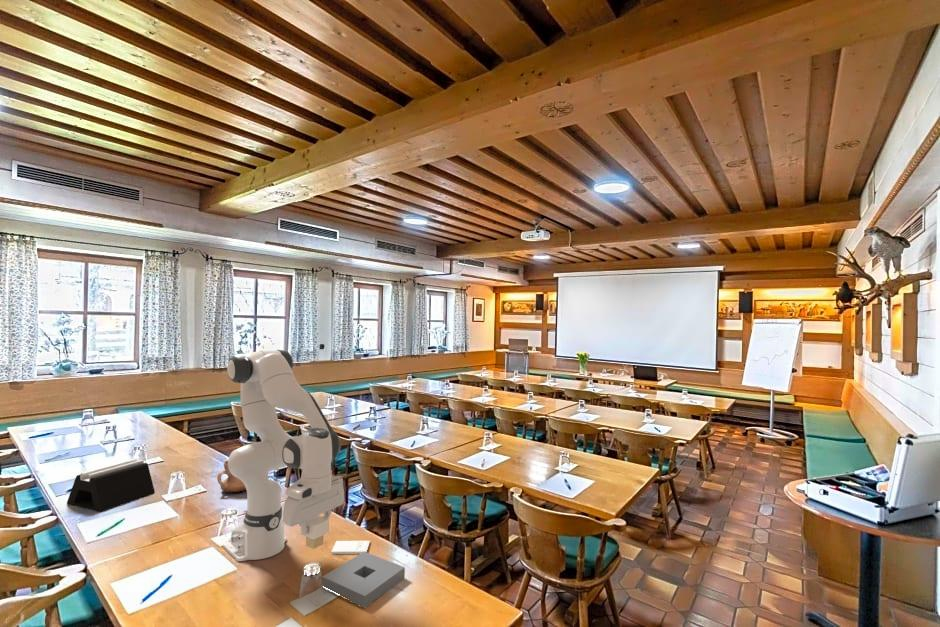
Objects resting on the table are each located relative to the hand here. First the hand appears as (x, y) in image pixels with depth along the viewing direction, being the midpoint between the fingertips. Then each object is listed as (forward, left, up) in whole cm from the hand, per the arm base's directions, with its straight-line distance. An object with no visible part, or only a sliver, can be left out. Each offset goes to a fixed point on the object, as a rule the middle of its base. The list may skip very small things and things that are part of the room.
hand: (315, 529), depth 132 cm
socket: (+9, +13, -19) cm, 25 cm away
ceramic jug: (-98, +35, -20) cm, 106 cm away
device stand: (-134, -2, -20) cm, 136 cm away
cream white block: (0, 0, -5) cm, 5 cm away
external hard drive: (-10, +26, -20) cm, 34 cm away
